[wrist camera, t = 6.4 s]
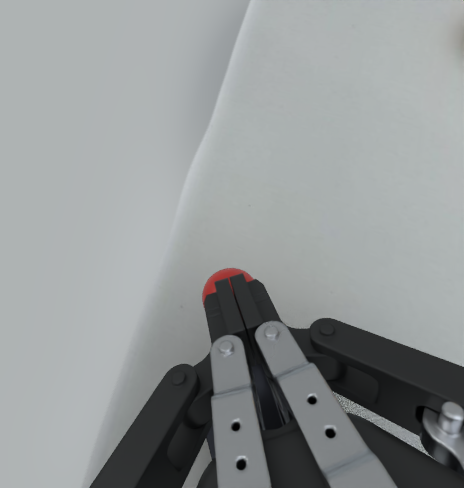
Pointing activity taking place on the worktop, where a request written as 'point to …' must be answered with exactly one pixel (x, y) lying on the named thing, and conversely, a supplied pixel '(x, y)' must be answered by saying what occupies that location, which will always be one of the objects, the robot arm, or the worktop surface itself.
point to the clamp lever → (263, 389)
